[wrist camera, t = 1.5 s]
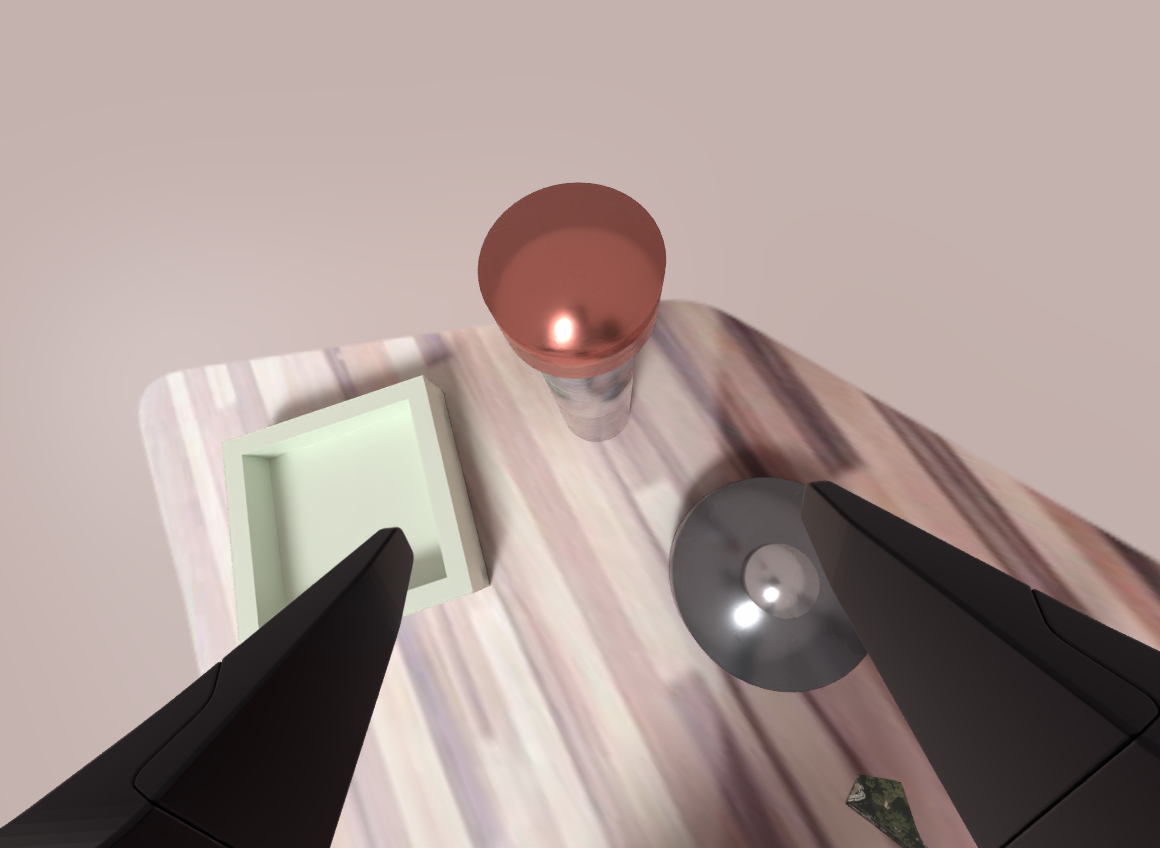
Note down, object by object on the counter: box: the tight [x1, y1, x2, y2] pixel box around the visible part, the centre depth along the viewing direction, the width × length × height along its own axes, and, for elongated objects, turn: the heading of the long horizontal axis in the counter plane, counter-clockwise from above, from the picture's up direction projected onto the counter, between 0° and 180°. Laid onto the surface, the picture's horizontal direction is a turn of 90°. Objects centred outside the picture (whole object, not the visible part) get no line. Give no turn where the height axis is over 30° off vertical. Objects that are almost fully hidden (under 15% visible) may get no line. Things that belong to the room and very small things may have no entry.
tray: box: [222, 375, 490, 645], centre depth 21 cm, size 11×11×2 cm
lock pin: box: [478, 183, 666, 442], centre depth 16 cm, size 5×5×13 cm
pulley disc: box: [669, 477, 868, 692], centre depth 19 cm, size 9×9×2 cm
